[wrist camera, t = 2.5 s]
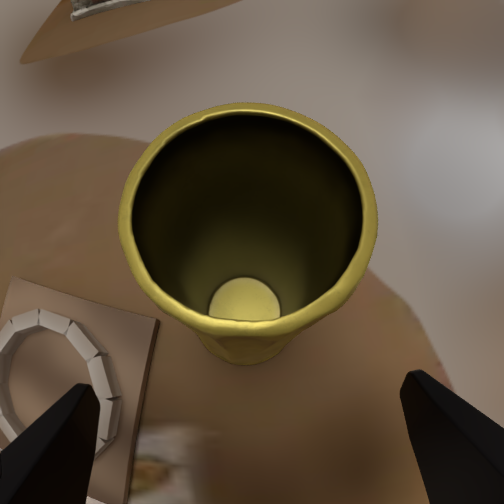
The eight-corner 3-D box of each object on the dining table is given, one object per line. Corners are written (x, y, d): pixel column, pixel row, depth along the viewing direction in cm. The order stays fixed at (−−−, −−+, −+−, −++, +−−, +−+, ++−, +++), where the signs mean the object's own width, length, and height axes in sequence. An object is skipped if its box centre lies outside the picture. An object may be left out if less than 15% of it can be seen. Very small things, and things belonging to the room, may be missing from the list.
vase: (189, 359, 18) (66, 336, 5) (201, 262, 21) (140, 86, 7) (291, 368, 18) (405, 369, 5) (297, 270, 21) (381, 106, 7)
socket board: (126, 504, 15) (114, 518, 12) (-8, 435, 15) (-28, 438, 13) (159, 321, 19) (149, 314, 17) (19, 279, 20) (0, 269, 17)
